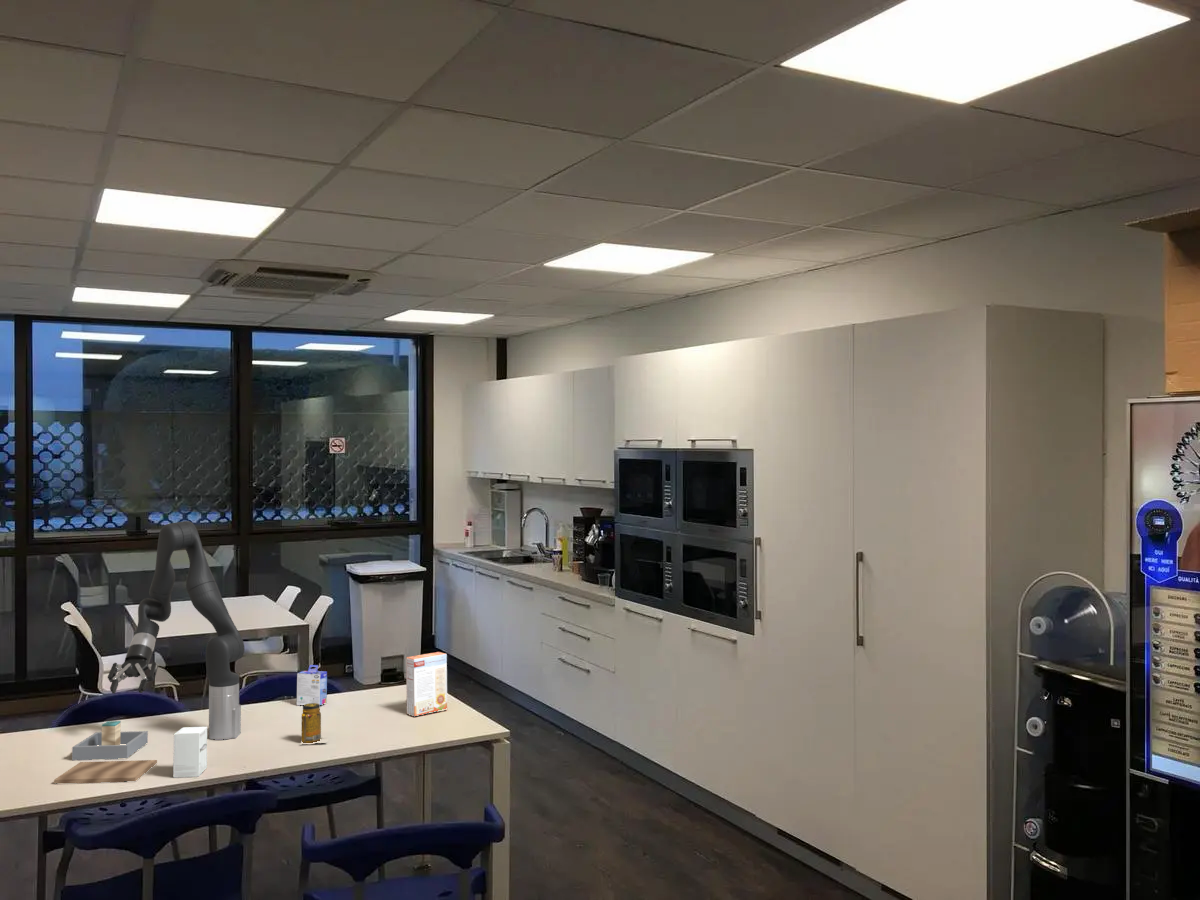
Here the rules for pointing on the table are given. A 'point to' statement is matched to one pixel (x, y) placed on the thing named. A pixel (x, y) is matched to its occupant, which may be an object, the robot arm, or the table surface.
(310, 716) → the condiment
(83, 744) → the parts bin
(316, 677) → the ink cartridge box
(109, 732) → the beech block
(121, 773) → the walnut board
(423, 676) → the cracker box
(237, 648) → the robot arm
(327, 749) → the table surface
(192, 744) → the supplement box
